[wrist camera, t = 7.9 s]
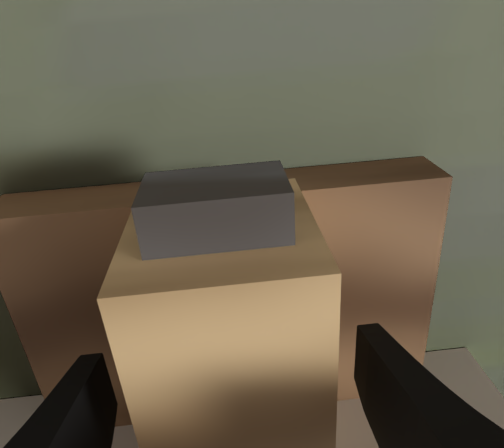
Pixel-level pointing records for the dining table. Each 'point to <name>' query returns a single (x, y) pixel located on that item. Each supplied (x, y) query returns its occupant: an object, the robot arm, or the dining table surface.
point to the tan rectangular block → (225, 312)
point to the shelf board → (348, 411)
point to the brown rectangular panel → (328, 220)
